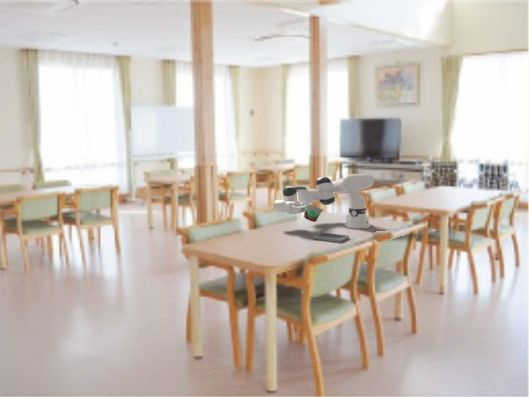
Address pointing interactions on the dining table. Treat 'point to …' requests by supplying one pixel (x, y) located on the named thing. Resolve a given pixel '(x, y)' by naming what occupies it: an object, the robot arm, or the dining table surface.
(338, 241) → the tray
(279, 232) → the dining table surface
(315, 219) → the food container
